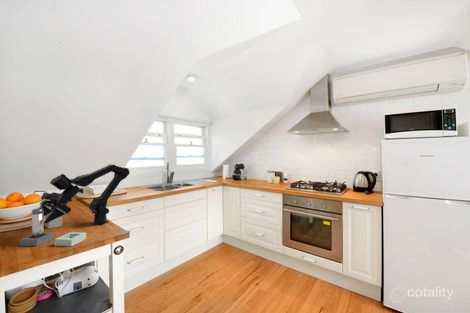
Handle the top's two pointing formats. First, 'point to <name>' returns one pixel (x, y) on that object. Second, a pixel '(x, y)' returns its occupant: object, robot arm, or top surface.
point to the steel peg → (37, 223)
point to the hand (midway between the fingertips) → (40, 221)
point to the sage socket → (69, 239)
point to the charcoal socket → (36, 239)
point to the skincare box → (54, 222)
